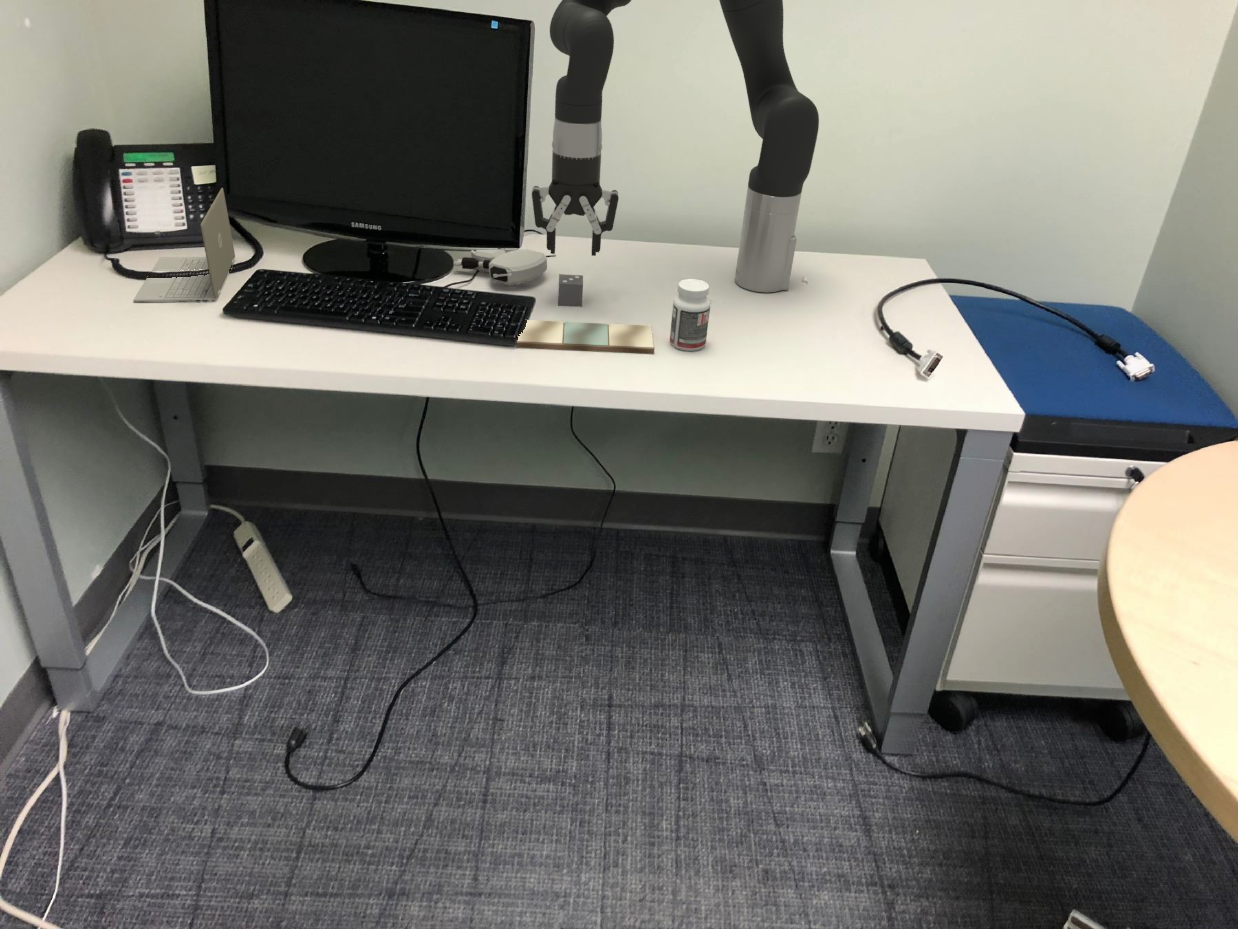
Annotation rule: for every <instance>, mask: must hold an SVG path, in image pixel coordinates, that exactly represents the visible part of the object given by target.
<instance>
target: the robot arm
mask: <svg viewBox="0 0 1238 929" xmlns="http://www.w3.org/2000/svg"><path fill="white" fill-rule="evenodd" d="M631 2H632V0H561V1H560V2H559V4H558V5H557V7H556V9H555V11H554V13H553V14H552V18H551V20H550V23H549V37H550V41H551V42H552V44H553V46H554V48H556V49H557V51H559V52H560V53H561V54H565V55H566V56H569V57H568V59H569V60H568V65H567V71H566V75H563V76H561V77H560V78H559V79H558V80H557V82H556V86H555V99H554V101H555V102H554V103H555V104H554V123H553V130H552V142H551V147H552V149H551V150H552V157H551V158H552V159H551V161H552V162H551V182H550V184H549V186H547V187H546V186H545V187H540V186H538V185H534V186H533V187H532V190H531V200H532V207H533V215H534V216H533V217H534V224H535V227H536V228H539V229H540V228H541V229H544V230H545V231H546V249H547V251H550V255H554V254H555V255H556V238H557V236H556V234H557V233H556V232H557V230H556V229H557V228H556V227H557V225H558V222H560V220H561V218H562V217H563V215H565V216H572V215H577V216H583V217H584V216H585V215H586V218H587V221H588V222H589V224H590V226H591V228H592V232H591V234H592V235H591V256H593V257H596V255H597V253H600V251H601V244H602V234H603V233H605V232H611V231H612V230H613V228H614V224H615V218H616V215H617V209H618V205H619V204H618V203H619V192H618V190H616V189H613V190H611V191H609V190H604V189H603V188H602V187H601V183H600V182H601V181H600V180H601V168H602V167H601V164H602V150H603V144H602V143H603V142H602V141H603V130H602V112H603V90H604V87H605V84H606V81H607V79H608V73H609V70H610V65H611V63H612V58H613V54H614V47H615V45H614V44H615V42H614V41H615V39H614V38H615V35H614V29H613V25H612V22H611V20H610V19H609V17H608V16H609V14H610V13H611V12H612V11H613V10H614V9H617V8H620V7H625V6H627V5H629V4H630V3H631ZM719 4H720V7H721V8H720V9H721V10H722V13H723V14H722V15H723V17H724V20H725V23H726V26H727V30H728V33H729V35H730V38H731V41H732V44H733V47H734V50H735V52H736V55H737V57H738V60H739V62H740V66H741V69H742V74H743V78H744V83H745V90H746V94H747V99H748V101H747V102H748V106H749V111H750V112H749V113H750V117H751V121H752V126H753V128H754V130H755V132H756V133H757V135H758V136H759V137H760V138H761V139H762V142H761V148H760V153H759V158H758V163H757V165H756V166H754V167H753V168H751V170H750V172H749V175H748V182H747V190H746V197H745V205H744V211H743V218H742V226H741V232H740V240H739V247H738V254H737V262H736V267H735V274H734V275H735V276H734V282H735V283H736V284H737V285H738V286H740V287H741V288H744V289H745V290H749V291H752V292H757V293H776V292H780V291H789V285H790V279H791V275H792V268H793V263H794V257H795V252H796V247H797V237H796V235H795V232H796V227H797V222H798V215H799V211H800V210H799V209H800V204H801V197H802V192H803V187H804V183H805V182H806V180H807V178H808V177H809V174H810V172H811V167H812V163H813V158H814V153H815V150H816V146H817V145H816V144H817V139H818V135H819V134H818V133H819V129H820V128H819V125H820V118H819V116H820V115H819V110H818V109H817V106H816V105H815V103H814V101H813V100H811V98H809V97H808V96H806V95H805V94H804V93H802V92H800V91H799V90H798V88H797V86H796V83H795V81H794V79H793V76H792V73H791V70H790V67H789V63H788V61H787V60H788V59H787V57H786V52H785V48H784V47H785V46H784V1H783V0H719ZM547 196H549V197H550V198H551V199H552V200H551V201H553V203H554V204H555V206H554V208H553V210H552V211H551V215H550V216H549V218H545V217H544V214H543V213H544V212H543V204H542V203H544V202H545V201H546V198H547ZM601 199H603V200H604V205H605V206H607V210H606V215H605V220H603V221H600V218H599V217H598V214H597V211H596V209H595V206H596V204H597V203H599V201H601Z"/></svg>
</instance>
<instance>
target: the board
mask: <svg viewBox="0 0 1238 929" xmlns="http://www.w3.org/2000/svg"><path fill="white" fill-rule="evenodd" d="M526 320H527V323H526V327H525V329H524V330H523V333H522V332H521V334H519V335H520V336H518V335H517V337H518V340H517V339H516V349H517V348H519V349H540V350H562V351H563V350H564V351H587V352H604V353H605V352H606V353H630V354H649V355H650V354H651V355H652V354H653V355H654V354H655V343H654V342H655V341H654V335H653V334H654V333H653V327H652V325H641V324H624V323H622V324H620V323H617V324H616V323H603V322H602V323H601V322H596V323H595V322H576V321H575V322H574V321H557V320H555V321H553V320H536V319H535V320H533V319H526Z"/></svg>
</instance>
